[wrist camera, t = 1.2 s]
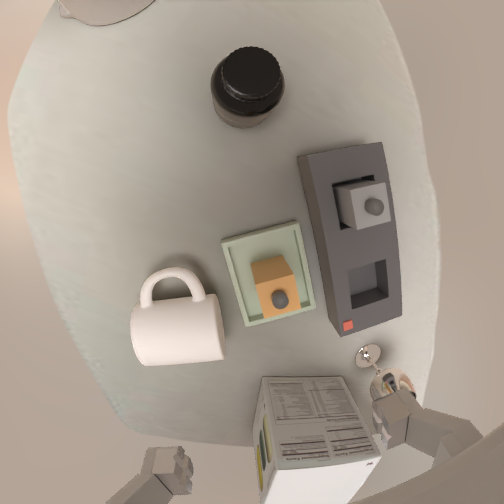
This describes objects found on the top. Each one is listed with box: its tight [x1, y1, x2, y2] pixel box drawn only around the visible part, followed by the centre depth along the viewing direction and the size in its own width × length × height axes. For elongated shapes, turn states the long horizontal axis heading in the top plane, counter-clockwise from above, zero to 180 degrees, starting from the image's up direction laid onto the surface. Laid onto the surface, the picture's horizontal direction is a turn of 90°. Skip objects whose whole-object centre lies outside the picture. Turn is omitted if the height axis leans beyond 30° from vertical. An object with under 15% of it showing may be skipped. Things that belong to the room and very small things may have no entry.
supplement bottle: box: [211, 46, 285, 128], centre depth 26 cm, size 7×7×12 cm
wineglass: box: [355, 344, 416, 400], centre depth 37 cm, size 6×6×12 cm
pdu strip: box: [297, 142, 402, 337], centre depth 35 cm, size 22×9×5 cm, turn 14°
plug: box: [250, 255, 301, 319], centre depth 33 cm, size 4×4×8 cm
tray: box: [221, 220, 316, 327], centre depth 37 cm, size 11×9×2 cm
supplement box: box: [252, 376, 382, 504], centre depth 36 cm, size 13×13×18 cm
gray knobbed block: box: [332, 179, 391, 230], centre depth 31 cm, size 4×4×8 cm
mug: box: [130, 267, 226, 366], centre depth 34 cm, size 12×10×8 cm
